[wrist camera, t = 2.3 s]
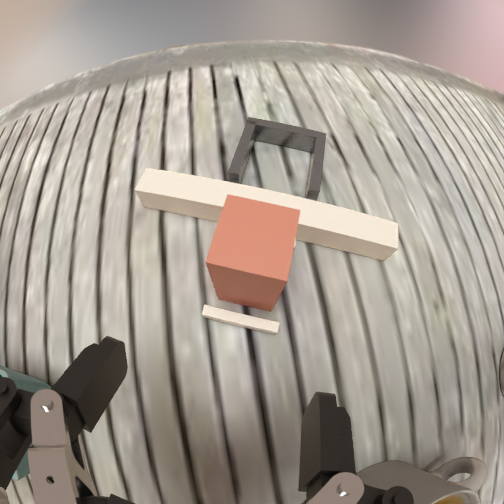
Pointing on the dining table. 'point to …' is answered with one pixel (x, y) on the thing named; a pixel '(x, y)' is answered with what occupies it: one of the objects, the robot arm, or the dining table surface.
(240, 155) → the keeper bracket
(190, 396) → the dining table surface
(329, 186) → the dining table surface
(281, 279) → the block
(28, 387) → the flower pot
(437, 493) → the coffee mug
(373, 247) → the strip
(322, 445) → the robot arm
